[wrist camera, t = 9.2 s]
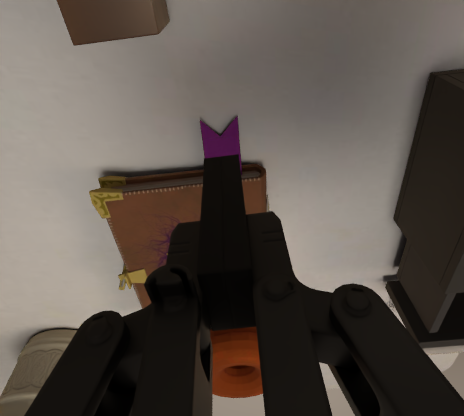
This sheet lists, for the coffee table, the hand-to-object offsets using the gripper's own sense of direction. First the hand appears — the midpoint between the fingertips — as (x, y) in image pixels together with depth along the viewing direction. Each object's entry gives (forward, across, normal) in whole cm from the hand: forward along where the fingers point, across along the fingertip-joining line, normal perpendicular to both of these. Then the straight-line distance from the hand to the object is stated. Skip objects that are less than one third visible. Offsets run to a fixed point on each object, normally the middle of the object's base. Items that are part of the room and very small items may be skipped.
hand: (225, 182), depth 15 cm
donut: (+14, -3, -37) cm, 39 cm away
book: (+14, -5, -14) cm, 20 cm away
